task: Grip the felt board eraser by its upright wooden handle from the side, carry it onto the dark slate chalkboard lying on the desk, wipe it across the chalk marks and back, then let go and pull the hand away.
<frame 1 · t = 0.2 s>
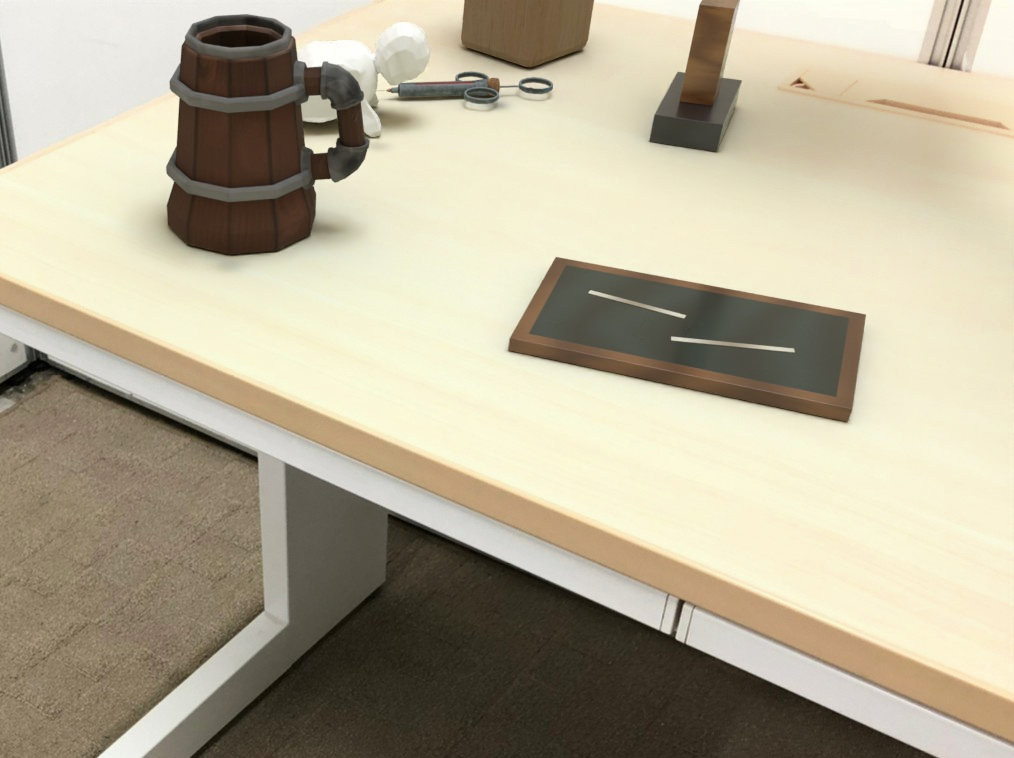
eraser: (693, 123, 116), on the table
syringe: (460, 98, 121), on the table
white animal figurine: (347, 122, 117), on the table
wooden block: (522, 50, 132), on the table
chalkboard: (687, 338, 86), on the table
mug: (268, 225, 100), on the table
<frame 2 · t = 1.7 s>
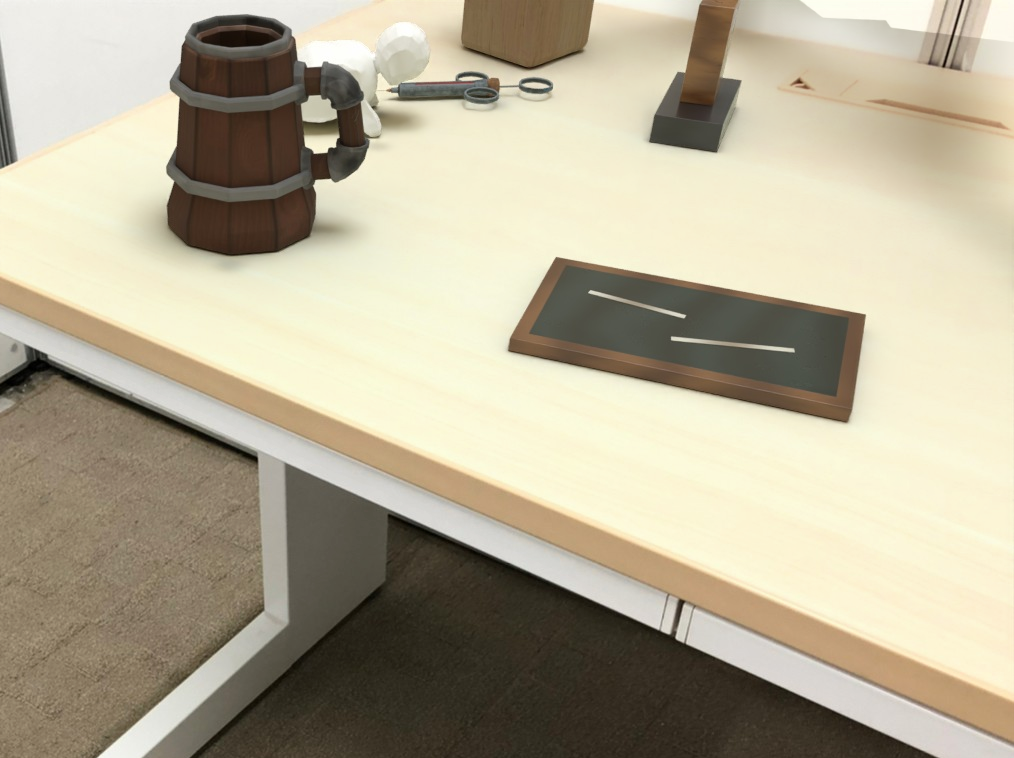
nothing on the table moved.
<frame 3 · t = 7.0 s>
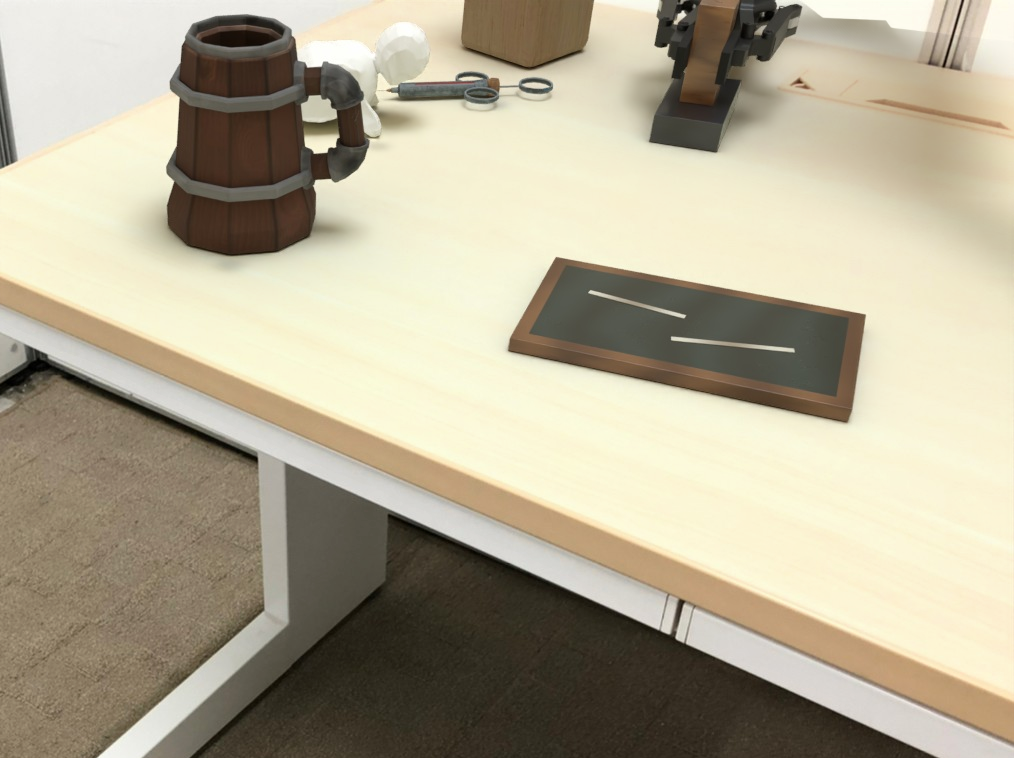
hand: (700, 65, 108), 7 cm above the table, tool horizontal, fingers closed on eraser, 3 cm apart
eraser: (693, 123, 116), on the table, touching gripper
everything else where it was.
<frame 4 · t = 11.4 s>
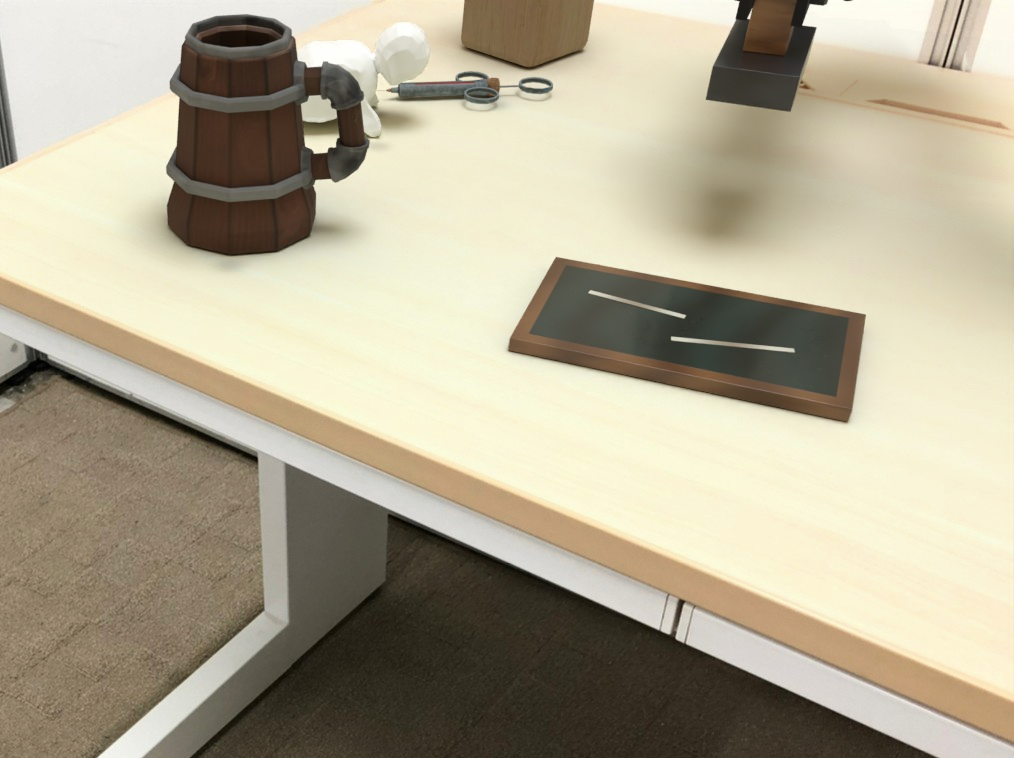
hand: (773, 2, 86), 18 cm above the table, tool horizontal, fingers closed on eraser, 3 cm apart
eraser: (758, 79, 94), point 11 cm above the table, touching gripper
everything else where it was.
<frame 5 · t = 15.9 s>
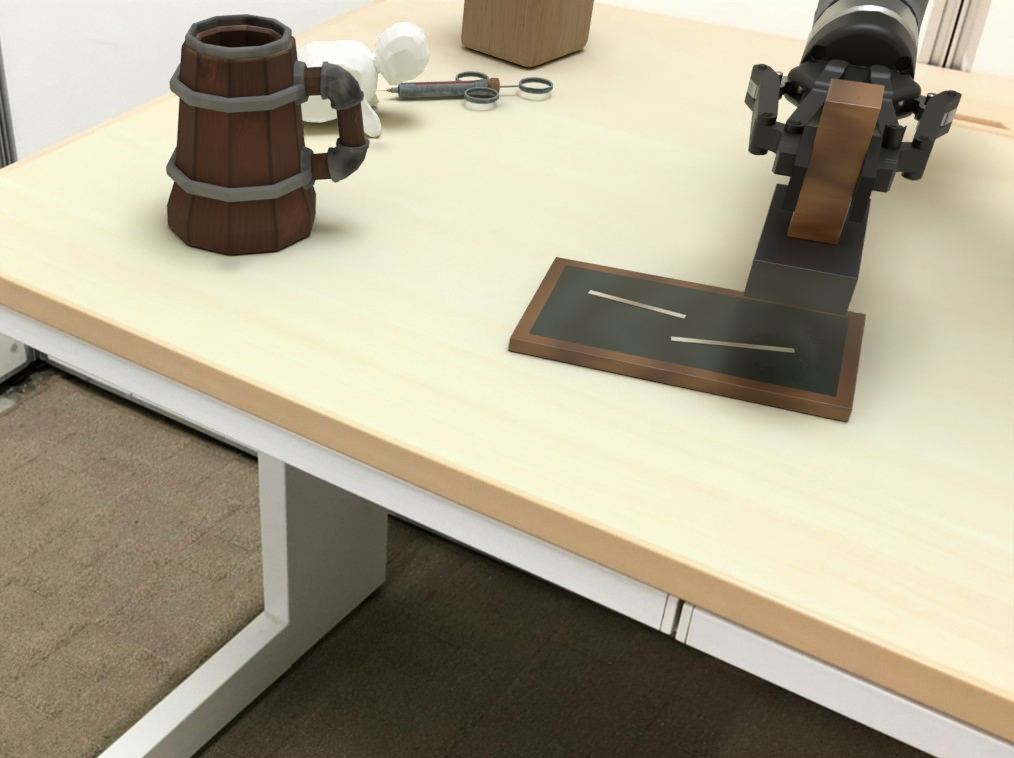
hand: (827, 194, 72), 14 cm above the table, tool horizontal, fingers closed on eraser, 3 cm apart
eraser: (803, 263, 80), point 7 cm above the table, touching gripper
everything else where it was.
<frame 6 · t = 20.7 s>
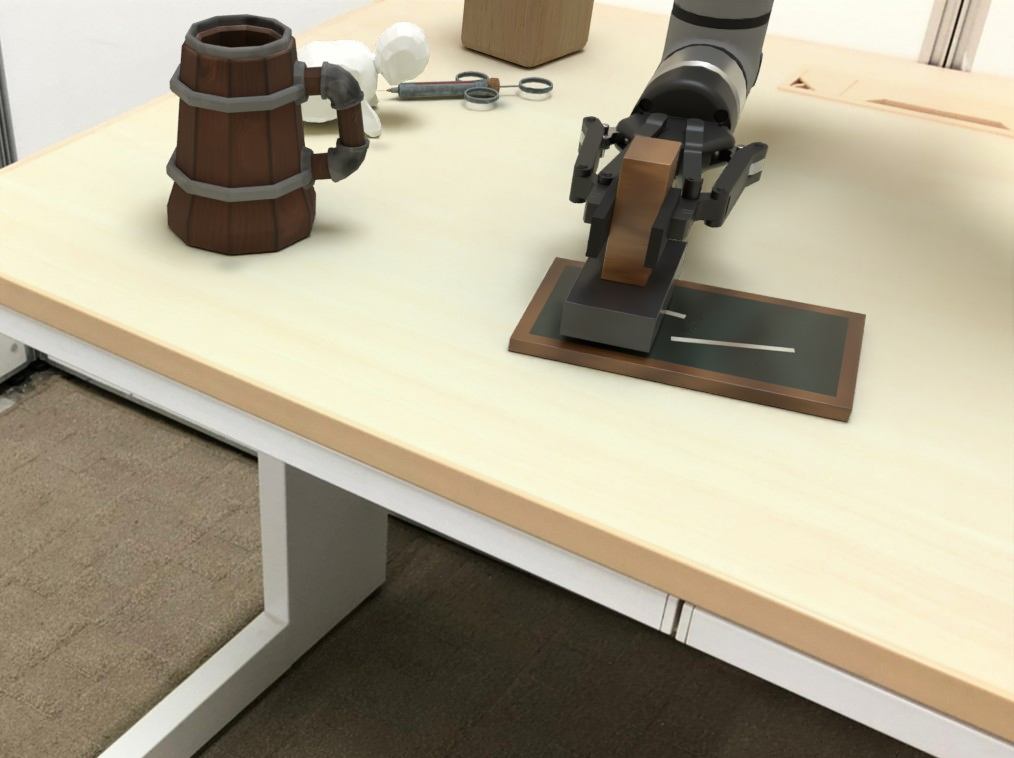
hand: (624, 242, 78), 9 cm above the table, tool horizontal, fingers closed on eraser, 3 cm apart
eraser: (622, 303, 87), point 2 cm above the table, touching gripper
everything else where it was.
when the fingers open (8 cm above the table, at t = 24.7 s): eraser stays where it is, resting on chalkboard.
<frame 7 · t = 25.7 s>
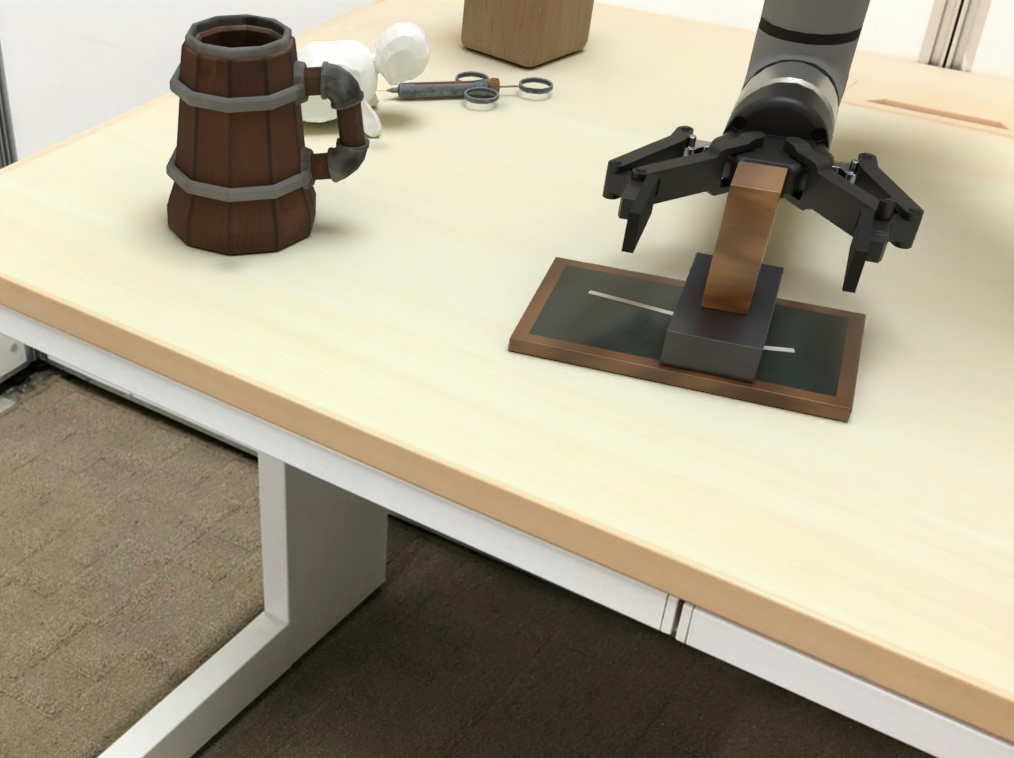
hand: (739, 252, 78), 8 cm above the table, tool horizontal, fingers open, 13 cm apart
eraser: (719, 330, 85), point 1 cm above the table, touching chalkboard
everything else where it was.
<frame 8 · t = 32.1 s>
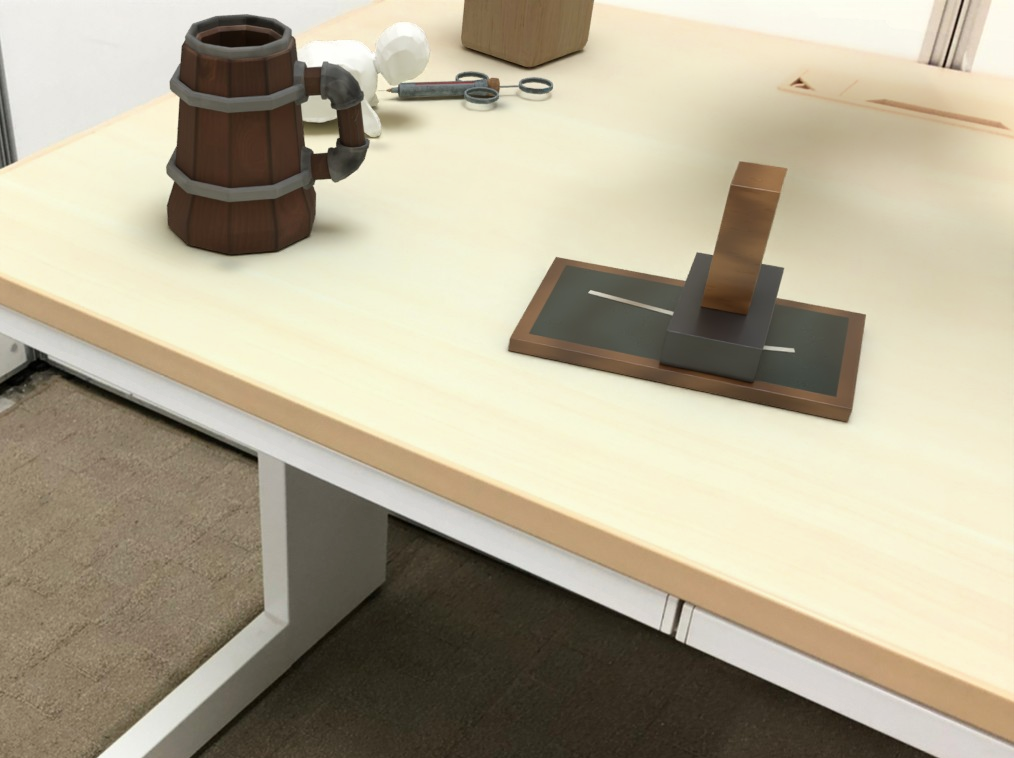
nothing on the table moved.
at the end: eraser inside the target area on the chalkboard (1.9 cm from its centre), point 1.0 cm above the chalkboard's base; eraser tilted 0°; the gripper is holding nothing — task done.
